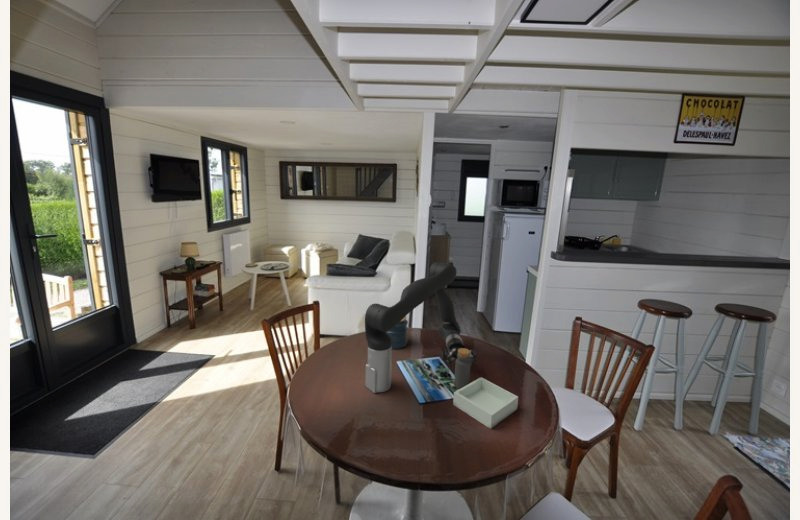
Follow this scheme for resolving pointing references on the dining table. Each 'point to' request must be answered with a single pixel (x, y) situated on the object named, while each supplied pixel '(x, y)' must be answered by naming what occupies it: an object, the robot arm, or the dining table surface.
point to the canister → (399, 334)
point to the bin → (485, 402)
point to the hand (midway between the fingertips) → (461, 363)
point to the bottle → (462, 368)
